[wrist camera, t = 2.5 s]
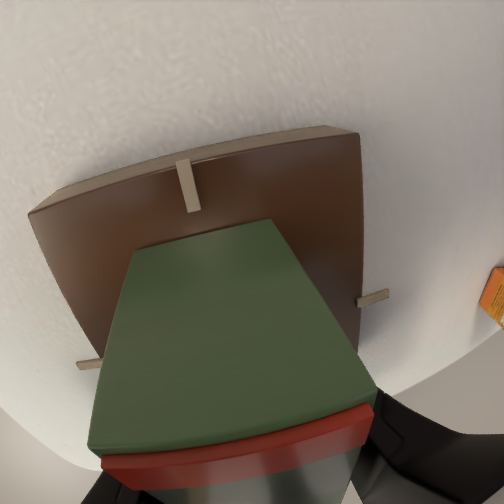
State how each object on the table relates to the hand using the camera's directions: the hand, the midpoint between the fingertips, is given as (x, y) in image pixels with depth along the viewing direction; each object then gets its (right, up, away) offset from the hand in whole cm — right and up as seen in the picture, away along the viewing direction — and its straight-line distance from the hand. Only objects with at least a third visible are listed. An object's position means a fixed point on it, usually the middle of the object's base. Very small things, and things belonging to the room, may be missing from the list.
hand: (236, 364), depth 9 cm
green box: (0, +1, +1) cm, 1 cm away
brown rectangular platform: (-1, +2, +3) cm, 4 cm away
